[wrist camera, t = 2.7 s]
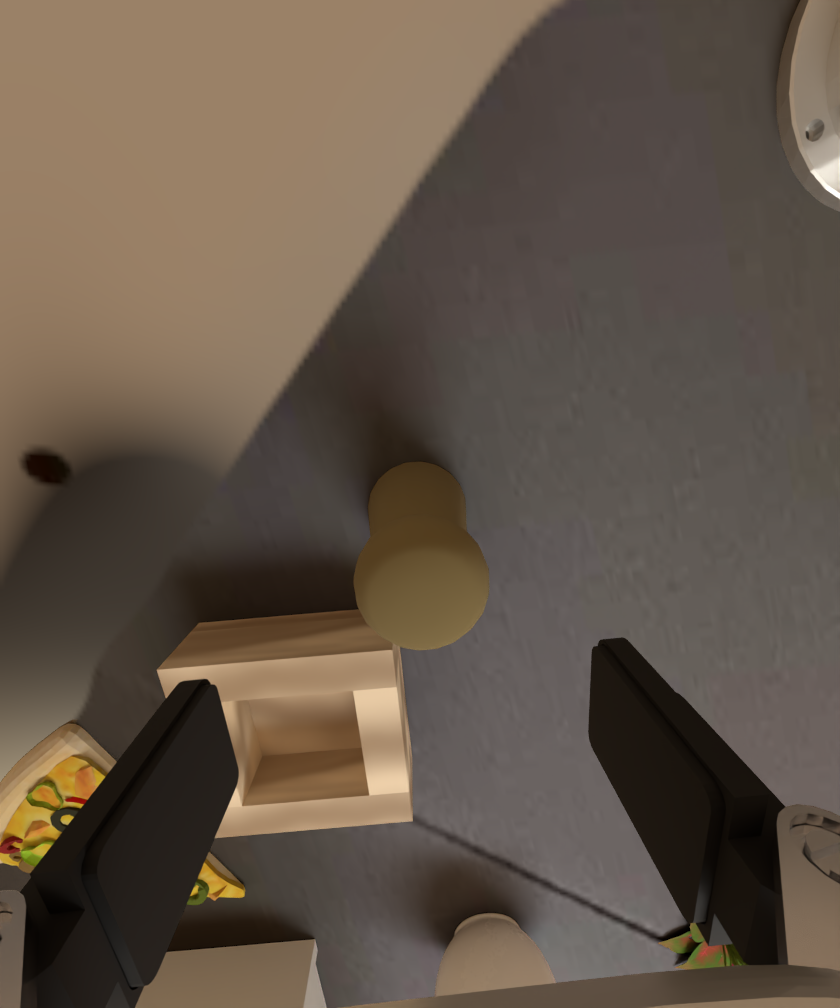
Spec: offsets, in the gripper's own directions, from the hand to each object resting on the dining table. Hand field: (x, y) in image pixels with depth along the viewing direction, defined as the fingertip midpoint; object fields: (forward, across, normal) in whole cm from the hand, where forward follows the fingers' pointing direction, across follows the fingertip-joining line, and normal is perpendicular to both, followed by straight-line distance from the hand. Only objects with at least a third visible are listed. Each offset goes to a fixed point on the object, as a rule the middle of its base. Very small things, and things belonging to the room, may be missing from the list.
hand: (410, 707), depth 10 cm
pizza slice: (+17, +24, +25) cm, 38 cm away
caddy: (+15, +8, +12) cm, 21 cm away
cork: (+15, -1, -1) cm, 15 cm away
